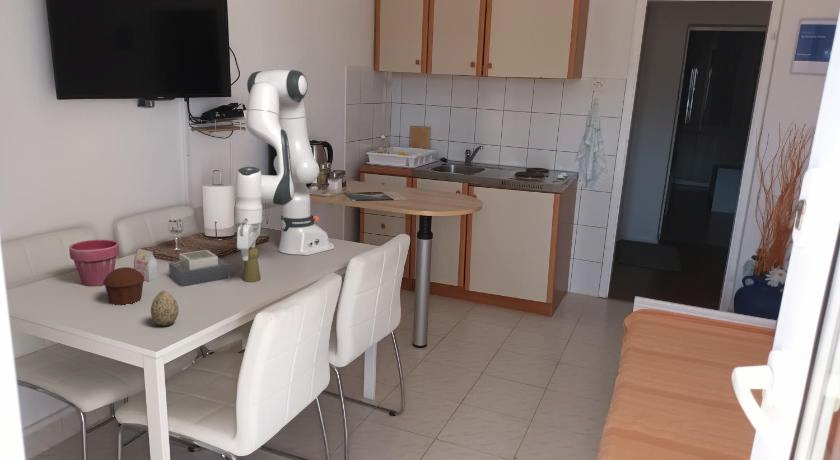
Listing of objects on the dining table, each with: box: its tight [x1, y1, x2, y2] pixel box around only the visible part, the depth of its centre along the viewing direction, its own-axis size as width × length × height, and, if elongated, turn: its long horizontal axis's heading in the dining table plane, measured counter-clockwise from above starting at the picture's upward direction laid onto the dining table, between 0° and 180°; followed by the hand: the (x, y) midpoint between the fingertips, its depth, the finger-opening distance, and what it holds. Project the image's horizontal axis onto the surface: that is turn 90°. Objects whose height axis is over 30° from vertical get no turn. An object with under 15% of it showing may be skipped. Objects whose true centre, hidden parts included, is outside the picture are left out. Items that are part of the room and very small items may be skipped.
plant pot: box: [68, 239, 120, 287], centre depth 202 cm, size 14×14×13 cm
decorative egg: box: [150, 290, 179, 327], centre depth 172 cm, size 7×7×10 cm
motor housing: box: [168, 249, 230, 287], centre depth 211 cm, size 16×12×8 cm
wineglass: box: [167, 218, 185, 250], centre depth 239 cm, size 6×6×12 cm
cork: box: [242, 248, 262, 283], centre depth 211 cm, size 6×6×11 cm
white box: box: [133, 248, 159, 283], centre depth 207 cm, size 4×7×10 cm, turn 64°
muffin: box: [103, 266, 145, 306], centre depth 188 cm, size 12×11×10 cm
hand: (248, 256), depth 210 cm, fingers open, 8 cm apart
